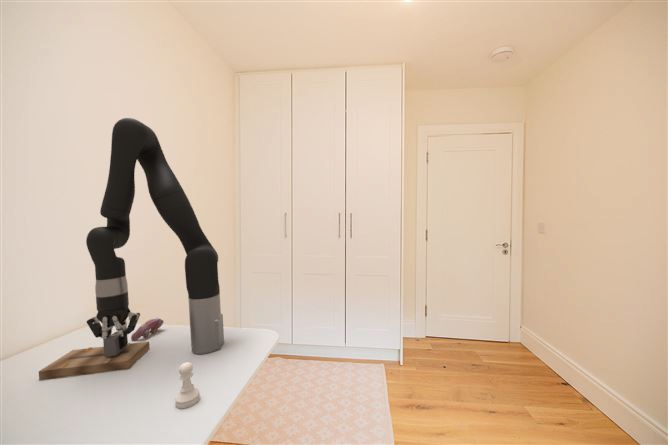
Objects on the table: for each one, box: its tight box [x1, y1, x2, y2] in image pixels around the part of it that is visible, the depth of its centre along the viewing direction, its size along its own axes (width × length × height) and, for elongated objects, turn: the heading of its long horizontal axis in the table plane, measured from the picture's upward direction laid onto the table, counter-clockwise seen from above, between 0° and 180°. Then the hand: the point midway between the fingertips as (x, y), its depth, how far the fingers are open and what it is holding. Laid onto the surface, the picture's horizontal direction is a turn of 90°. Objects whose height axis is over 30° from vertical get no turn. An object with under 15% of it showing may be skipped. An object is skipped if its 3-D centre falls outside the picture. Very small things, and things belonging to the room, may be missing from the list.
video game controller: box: [130, 317, 164, 341], centre depth 101 cm, size 10×5×7 cm, turn 169°
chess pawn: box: [174, 362, 201, 410], centre depth 63 cm, size 5×5×9 cm
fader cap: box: [102, 330, 128, 357], centre depth 83 cm, size 3×6×5 cm, turn 10°
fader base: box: [38, 341, 151, 381], centre depth 82 cm, size 22×12×3 cm, turn 100°
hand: (116, 348), depth 83 cm, fingers closed on fader cap, 3 cm apart
